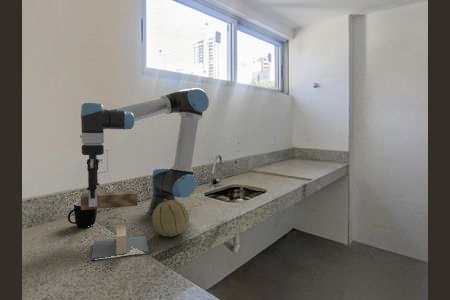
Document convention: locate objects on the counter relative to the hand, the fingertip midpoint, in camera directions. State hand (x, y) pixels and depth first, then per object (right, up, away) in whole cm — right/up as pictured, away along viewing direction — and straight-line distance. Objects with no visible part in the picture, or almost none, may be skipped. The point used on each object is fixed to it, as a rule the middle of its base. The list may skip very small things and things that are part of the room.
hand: (93, 204), depth 102 cm
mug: (-11, -12, +13) cm, 21 cm away
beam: (+5, -1, +2) cm, 6 cm away
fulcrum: (+14, -14, -7) cm, 21 cm away
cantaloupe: (+28, -14, +6) cm, 32 cm away
